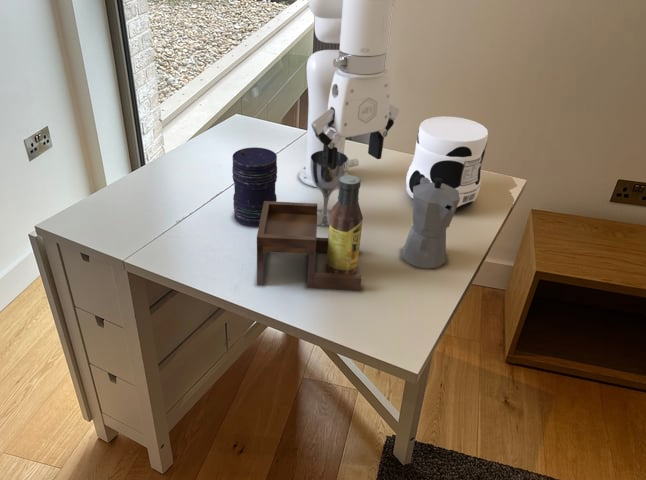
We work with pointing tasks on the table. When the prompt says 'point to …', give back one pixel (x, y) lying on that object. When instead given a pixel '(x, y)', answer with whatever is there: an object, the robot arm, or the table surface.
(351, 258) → the sauce bottle
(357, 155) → the table surface
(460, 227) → the table surface
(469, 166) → the milk container
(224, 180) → the table surface
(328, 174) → the wine glass
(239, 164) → the dark blue cylinder
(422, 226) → the coffeepot
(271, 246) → the step rack
